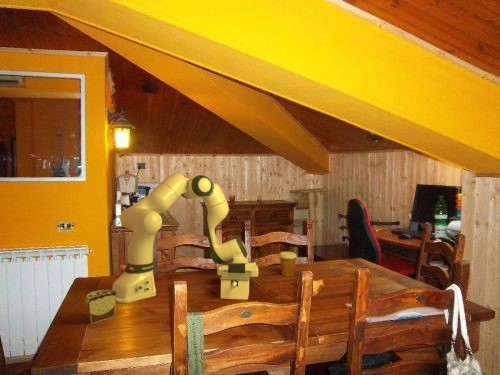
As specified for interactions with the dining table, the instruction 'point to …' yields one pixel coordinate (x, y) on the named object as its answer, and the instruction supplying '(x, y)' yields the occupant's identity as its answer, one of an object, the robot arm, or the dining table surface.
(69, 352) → the dining table surface
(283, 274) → the disposable coffee cup
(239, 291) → the block
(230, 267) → the plunger
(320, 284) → the slice of bread
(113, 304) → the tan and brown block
